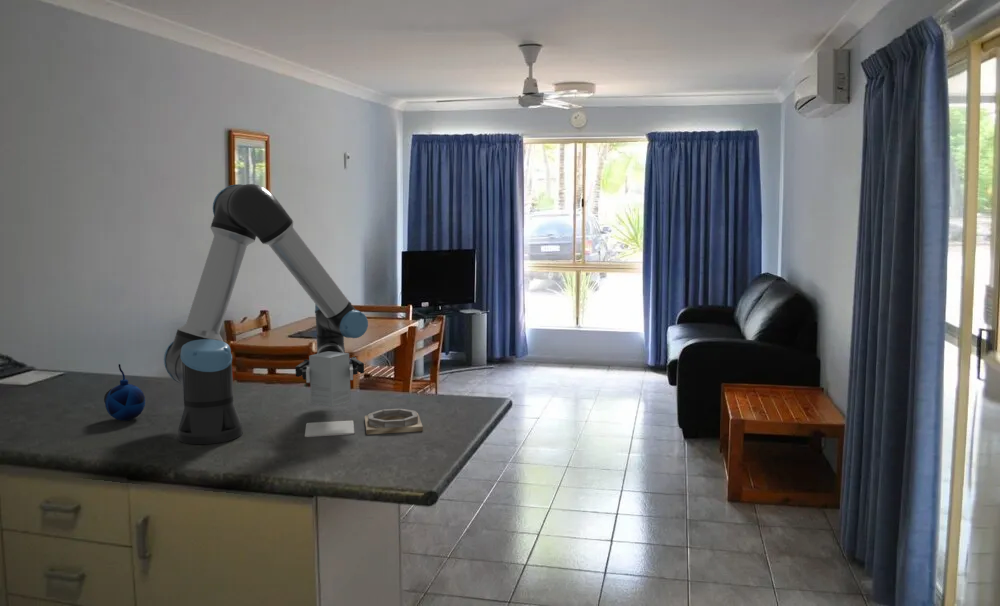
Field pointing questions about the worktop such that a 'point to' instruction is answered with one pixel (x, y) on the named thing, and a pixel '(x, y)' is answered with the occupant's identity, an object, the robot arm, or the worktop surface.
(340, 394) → the supplement box
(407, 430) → the ring stand
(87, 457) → the worktop surface
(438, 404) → the worktop surface
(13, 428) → the worktop surface
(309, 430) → the coaster
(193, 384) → the robot arm
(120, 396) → the bomb
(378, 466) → the worktop surface
